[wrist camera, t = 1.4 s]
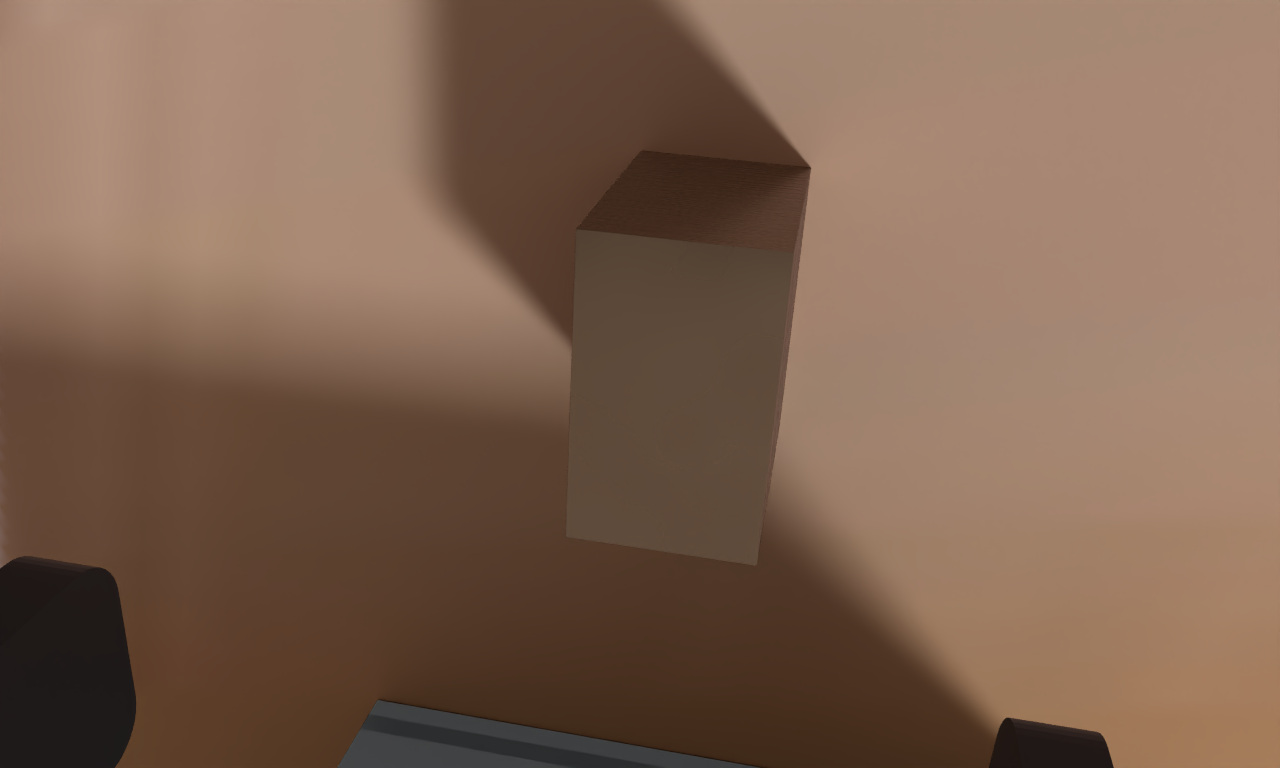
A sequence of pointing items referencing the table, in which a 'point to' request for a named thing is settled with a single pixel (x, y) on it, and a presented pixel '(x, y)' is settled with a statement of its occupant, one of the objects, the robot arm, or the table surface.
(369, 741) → the box
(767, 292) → the brown rectangular block
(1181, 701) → the table surface
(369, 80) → the table surface
